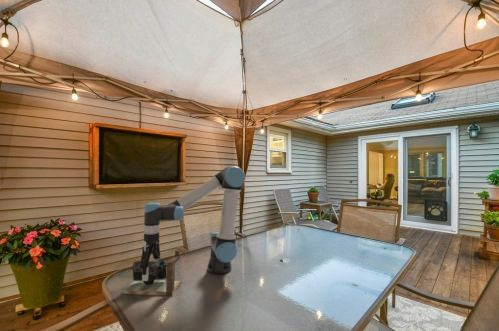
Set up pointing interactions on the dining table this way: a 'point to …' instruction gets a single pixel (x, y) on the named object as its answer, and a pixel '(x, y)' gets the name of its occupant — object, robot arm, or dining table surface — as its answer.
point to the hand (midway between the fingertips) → (150, 275)
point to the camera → (150, 271)
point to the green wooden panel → (158, 282)
